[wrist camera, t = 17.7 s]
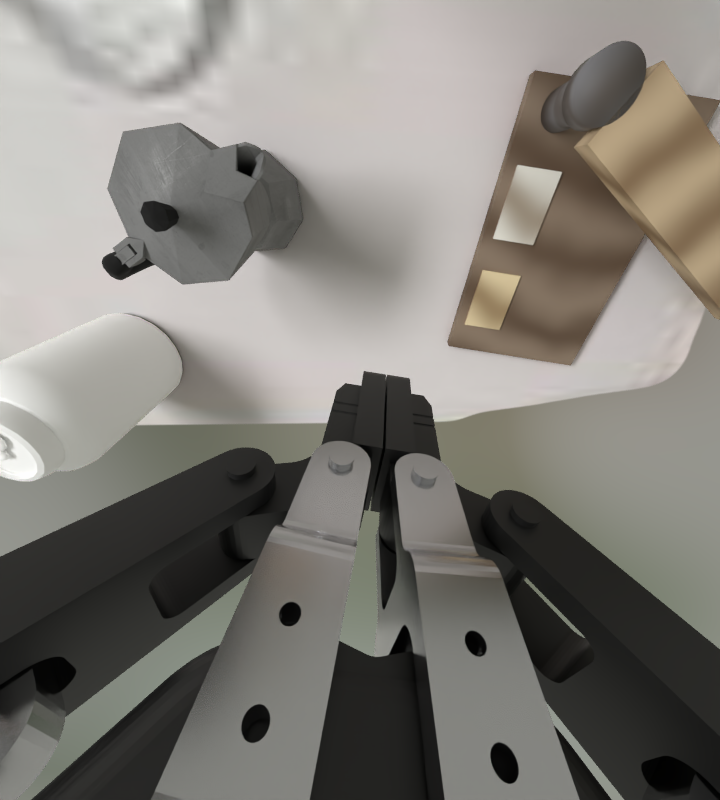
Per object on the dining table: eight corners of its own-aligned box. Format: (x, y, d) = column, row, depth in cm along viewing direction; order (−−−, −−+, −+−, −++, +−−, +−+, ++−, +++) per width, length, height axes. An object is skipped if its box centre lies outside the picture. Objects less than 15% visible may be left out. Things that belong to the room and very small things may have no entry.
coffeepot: (285, 110, 29) (170, 27, 14) (337, 216, 33) (291, 238, 18) (169, 204, 34) (-7, 216, 19) (227, 285, 38) (121, 347, 23)
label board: (529, 75, 26) (562, 47, 21) (708, 103, 26) (785, 83, 21) (447, 341, 40) (455, 364, 35) (566, 360, 40) (591, 386, 35)
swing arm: (543, 110, 23) (555, 104, 21) (611, 25, 20) (631, 11, 19) (714, 317, 29) (733, 325, 28) (781, 272, 27) (806, 278, 25)
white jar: (79, 306, 42) (-131, 385, 25) (172, 315, 41) (21, 401, 24) (114, 388, 49) (-31, 492, 32) (194, 396, 48) (89, 506, 31)
